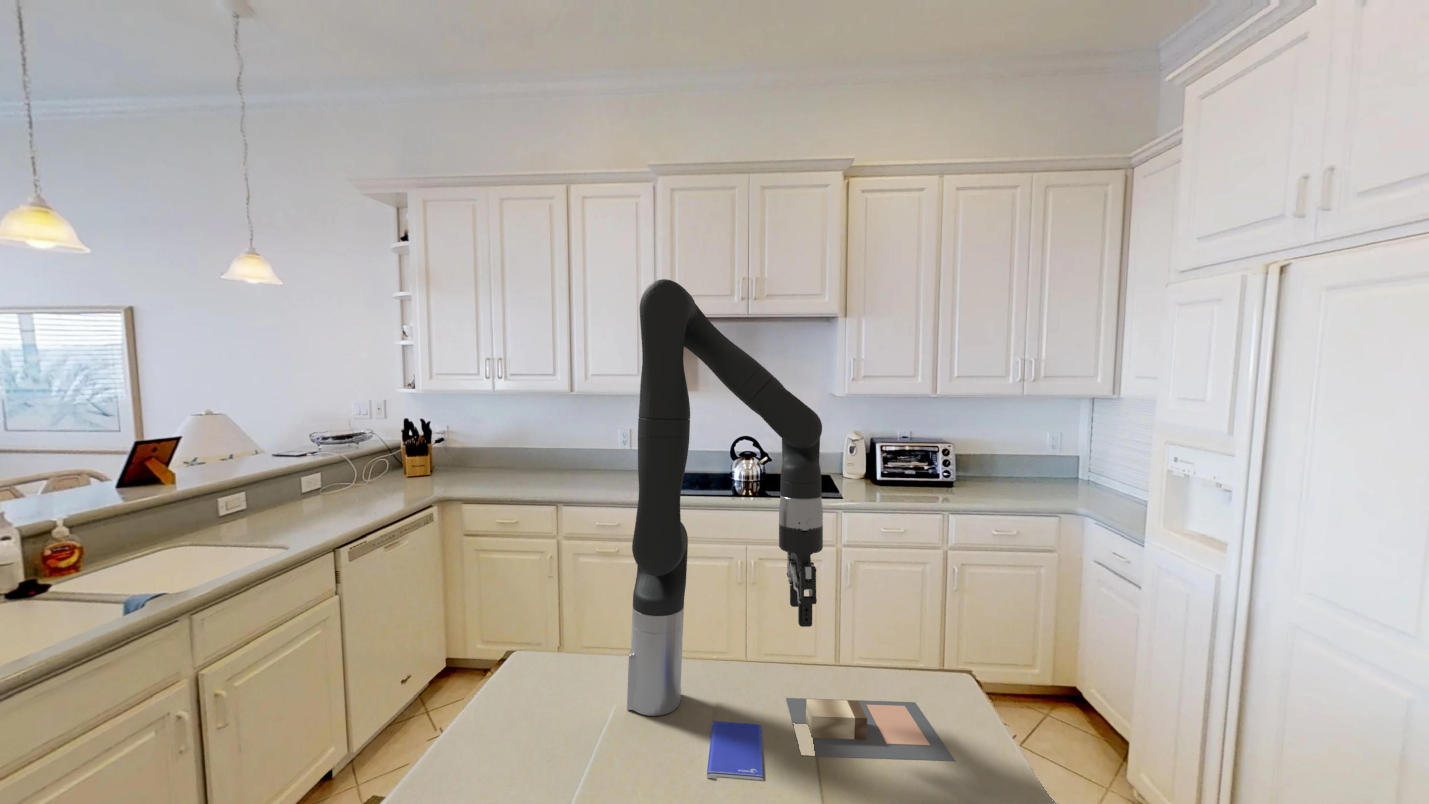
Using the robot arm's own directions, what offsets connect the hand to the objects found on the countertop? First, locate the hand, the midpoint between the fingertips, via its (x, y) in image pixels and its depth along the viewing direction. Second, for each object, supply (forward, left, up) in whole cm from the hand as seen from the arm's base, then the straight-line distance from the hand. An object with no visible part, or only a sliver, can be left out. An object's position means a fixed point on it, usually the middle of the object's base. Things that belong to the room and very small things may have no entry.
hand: (800, 615), depth 91 cm
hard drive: (-11, -9, -19) cm, 24 cm away
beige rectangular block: (+6, -3, -18) cm, 19 cm away
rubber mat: (+11, -2, -18) cm, 21 cm away
